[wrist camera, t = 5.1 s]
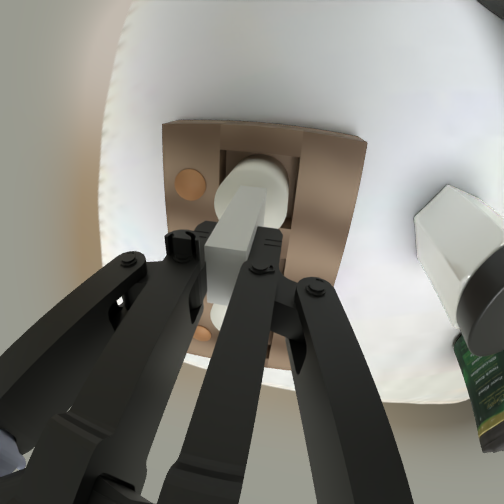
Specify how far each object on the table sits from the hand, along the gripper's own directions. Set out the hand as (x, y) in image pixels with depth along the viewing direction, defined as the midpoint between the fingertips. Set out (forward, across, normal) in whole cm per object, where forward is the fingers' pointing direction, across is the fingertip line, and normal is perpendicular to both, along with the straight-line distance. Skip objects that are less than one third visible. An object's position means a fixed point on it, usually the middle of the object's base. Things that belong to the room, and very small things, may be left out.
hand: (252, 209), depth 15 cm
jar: (+7, +18, -2) cm, 19 cm away
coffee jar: (+7, +33, -17) cm, 37 cm away
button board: (+7, 0, -8) cm, 11 cm away
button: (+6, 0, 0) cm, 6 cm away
